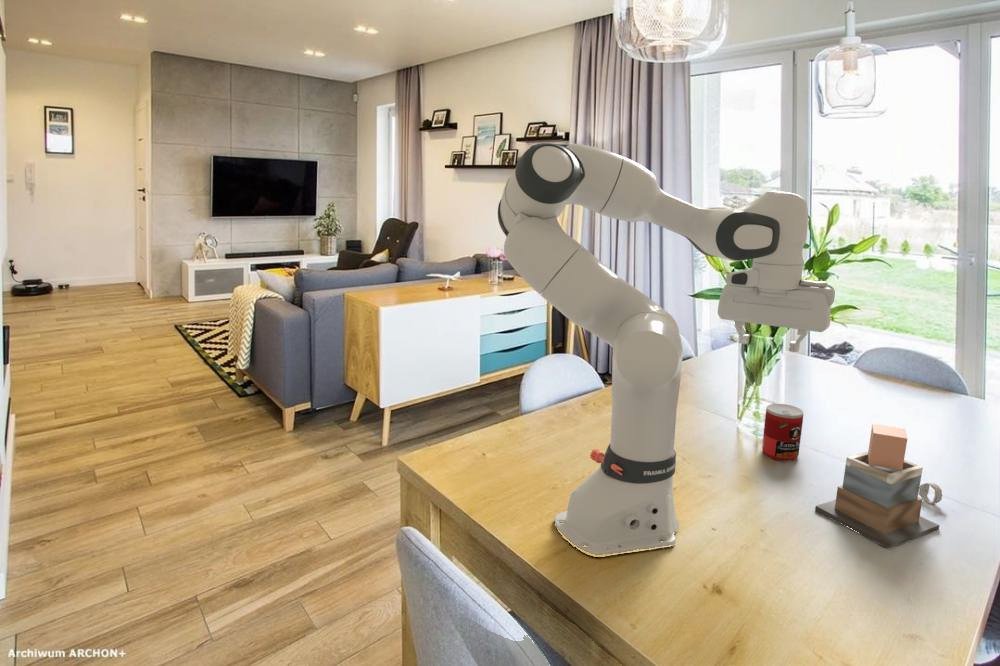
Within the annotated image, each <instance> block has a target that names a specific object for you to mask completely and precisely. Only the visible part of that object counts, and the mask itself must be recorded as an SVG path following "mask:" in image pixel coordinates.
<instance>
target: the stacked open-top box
mask: <svg viewBox="0 0 1000 666" xmlns="http://www.w3.org/2000/svg"><path fill="white" fill-rule="evenodd" d="M845 460H846V461H845V468H844V474H843V482H842V485H839V486H837V487H836V488H837V489H836V490H837V491H836V496H835V497H836V498H835V499H834V500H831V501H828V502H827V501H826V502H823V503H820V504H817V505H815V508H814V510H816V511H815V512H817V513H819V514H821V515H823V516H824V515H825V517H826V516H827V518H828V517H829V518H828V519H830V518H831V519H830V520H832V519H833V520H832V521H834V520H835V521H834V522H836V521H837V522H836V523H838V522H839V523H838V524H840V523H842V524H843V525H845V526H848V527H849V528H852V529H853V530H855V531H857V532H859V533H860V534H859V533H858V534H859V535H861V534H862V535H863V537H864V536H865V537H864V538H866V537H867V538H866V539H868V538H869V540H870V539H871V540H870V541H872V540H873V541H872V542H874V541H875V542H874V543H876V542H877V543H876V544H878V543H879V544H878V545H880V544H881V545H883V546H884V548H885V547H886V548H885V549H887V548H888V550H890V549H893V548H894V547H897V545H898V546H900V545H903V544H906V543H908V542H910V540H911V541H913V540H916V539H918V538H922V537H924V535H925V536H927V535H930V534H932V532H933V533H935V532H937V530H938V531H939V530H940V524H938V523H936V522H934V521H932V520H929V519H927V518H925V517H923V516H921V510H922V504H923V501H924V500H923V499H922V498H921V497H919V490H920V489H919V487H920V485H921V480H922V474H923V469H924V467H923V466H920V465H918V464H917V463H916V464H915V463H913V462H910V461H908V460H905V459H904V463H903V469H902V471H901V470H895V469H890V468H885V467H879V466H874V465H869V461H868V451H866V452H865V451H864V452H861V453H859V454H854V455H850V456H846V458H845ZM842 524H841V525H842ZM843 525H842V526H843ZM845 526H844V527H845ZM849 528H848V529H849ZM853 530H852V531H853ZM855 531H854V532H855ZM934 531H935V532H934ZM857 532H856V533H857ZM929 533H930V534H929ZM926 534H927V535H926ZM862 535H861V536H862ZM921 536H922V537H921ZM907 541H908V542H907ZM905 542H906V543H905ZM902 543H903V544H902ZM881 545H880V546H881ZM883 546H882V547H883ZM889 548H890V549H889Z"/></svg>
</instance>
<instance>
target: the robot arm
mask: <svg viewBox="0 0 1000 666" xmlns="http://www.w3.org/2000/svg"><path fill="white" fill-rule="evenodd" d="M520 156H521V157H520V158H519V159H518V160H517V162H516V165H515V168H514V169H513V171H512V173H511V175H510V177H509V178H508V179H507V181H506V183H505V185H504V188H503V192H502V195H501V199H500V201H499V203H498V206H497V220H498V224H499V227H500V228H501V231H502V232H503V234H504V235H505V241H504V245H503V254H504V256H505V259H506V260H507V262H508V263H509V264H510V266H511V267H512V268H513V269H514V270H515V272H516V273H517V274H518V275H519V276H520V277H521V278H522V279H523V280H524V282H526V284H528V286H529V287H531V288H532V289H533V290H534V291H535V292H536V293H537V294H538V295H540V296H541V297H542V298H543V299H544V300H545V301H547V302H548V303H549V304H550V305H552V307H553V308H555V309H556V310H557V311H558V312H560V313H561V314H562V315H563V316H564V317H566V319H568V320H569V321H570V322H571V323H572V324H574V325H576V326H578V327H580V328H582V329H585V330H586V331H588V332H589V333H591V334H592V335H594V336H596V337H597V338H599V339H600V340H602V341H604V342H605V343H606V344H608V346H610V347H612V357H611V358H612V361H611V362H612V365H611V366H612V367H611V370H612V371H611V417H610V419H611V420H610V421H611V423H610V442H609V444H608V446H607V448H606V451H605V453H603V452H601V451H600V450H599V449H596V448H594V449H593V450H591V452H590V455H589V458H590V459H591V460H592V461H594V462H595V463H597V464H600V467H599V468H598V469H596V470H595V471H594V472H593V473H592V474H591V475H590V476H589V477H588V478H587V479H585V480H584V481H583V482H582V483H581V484H580V485H579V486H578V487H576V488H574V490H573V491H572V492H571V493H570V496H569V499H568V504H567V510H564V511H561V512H559V513H557V514H555V517H554V521H555V524H556V527H557V528H558V530H559V531H560V532H561V533H562V534H563V535H564V536H565V537H566V538H567V539H568V540H569V541H570V542H572V543H573V544H574V545H576V546H577V547H578V548H580V549H582V550H584V551H586V552H589V553H591V554H595V555H603V554H605V555H606V554H613V553H621V552H627V551H633V550H637V549H639V550H640V549H649V548H655V547H662V546H669V545H674V544H675V545H676V536H675V535H674V534H676V533H677V532H676V530H677V528H678V529H679V522H678V518H677V515H676V509H675V501H674V485H673V484H674V482H673V481H674V480H673V478H674V475H675V473H676V467H677V466H676V462H677V461H676V458H677V453H676V450H675V440H676V437H675V436H676V425H677V422H676V421H677V410H678V405H679V404H678V402H679V395H680V387H681V377H682V367H683V365H682V364H683V358H684V357H683V355H684V352H683V343H682V339H681V335H680V329H679V326H678V323H677V322H676V320H675V318H674V317H673V315H671V314H670V313H669V312H668V311H666V310H665V309H664V308H663V307H661V306H660V305H659V304H657V303H656V302H655V301H654V300H652V299H651V298H649V297H648V296H647V295H645V294H644V293H643V292H642V291H640V290H639V289H637V288H636V287H635V286H634V285H631V284H630V283H629V282H627V281H626V280H624V279H623V278H621V277H620V276H619V275H618V274H616V273H615V272H614V271H613V270H612V269H610V268H609V267H608V266H607V265H606V264H604V263H603V262H602V261H601V260H600V259H599V258H598V257H596V256H595V255H594V254H593V253H591V252H590V250H588V249H587V248H586V247H584V246H582V244H581V243H579V242H578V241H577V240H576V239H574V238H573V237H571V236H570V235H569V234H568V233H567V232H566V231H564V229H563V227H562V225H561V224H560V222H559V220H558V218H559V217H560V216H561V214H562V213H563V211H564V209H565V208H566V206H567V205H579V206H581V207H583V208H586V209H587V210H590V211H591V212H592V211H593V212H595V213H596V214H599V215H602V216H605V217H607V218H611V219H615V220H619V221H622V222H623V221H624V222H630V223H638V222H644V223H645V222H647V223H650V224H653V225H657V226H659V227H662V228H663V229H666V230H668V231H671V232H673V233H676V234H678V235H680V236H682V237H684V238H686V239H687V240H688V241H689V242H690V243H691V245H693V247H694V248H695V249H696V250H697V251H698V252H700V253H702V254H703V255H705V256H708V257H711V258H712V257H713V258H714V257H715V258H720V259H723V260H728V261H731V262H742V261H747V260H752V267H750V268H749V267H746V268H742V269H741V270H736V271H733V272H730V273H728V274H727V275H726V277H725V283H726V285H725V286H724V287H723V289H722V290H721V293H720V296H719V299H718V300H719V301H718V307H717V315H718V317H719V318H720V319H721V320H724V321H725V320H726V321H734V327H735V330H736V332H737V333H738V335H739V336H738V343H739V344H742V345H748V344H749V341H750V334H746V331H745V329H744V326H746V323H749V324H754V325H755V324H756V325H763V326H764V325H765V326H770V327H771V326H772V327H777V328H778V327H779V328H785V329H786V328H787V329H793V330H797V336H799V337H798V338H797V339H796V340H791V341H790V342H789V347H788V351H789V352H794V353H798V352H799V350H800V347H801V346H800V345H801V343H802V341H803V340H804V339H805V338H806V337H807V336H808V333H809V332H816V333H817V332H818V333H824V332H825V331H827V329H828V328H830V326H831V325H830V324H831V314H832V313H831V310H832V309H831V306H832V305H833V304H834V301H835V297H836V296H835V295H836V291H835V289H834V287H833V286H831V285H830V284H828V282H826V281H813V280H808V279H807V280H805V279H802V277H803V269H804V257H803V250H804V246H805V245H806V243H807V237H808V236H807V235H808V228H809V227H808V225H809V207H808V203H807V200H806V199H805V198H804V197H803V196H802V195H799V194H796V193H792V192H786V191H779V190H769V191H766V192H764V193H763V194H762V195H761V196H759V197H758V198H756V199H755V200H753V201H751V202H748V203H746V204H744V205H741V206H738V207H736V208H735V209H734V208H727V207H720V206H713V207H712V206H711V207H699V206H697V205H694V204H691V203H689V202H687V201H684V200H682V199H681V198H678V197H676V196H673V195H670V194H668V193H667V192H665V191H664V190H662V189H661V187H660V186H659V184H658V181H657V177H656V176H655V174H654V173H653V172H652V171H650V169H648V168H646V167H645V166H643V165H642V164H640V163H638V162H636V161H634V160H632V159H630V158H628V157H626V156H622V155H620V154H618V153H615V152H613V151H610V150H606V149H603V148H601V147H600V148H599V147H595V146H591V145H587V144H581V143H571V144H568V145H566V146H563V145H560V144H557V143H553V142H541V143H540V142H539V143H537V144H533V145H532V146H530V147H529V148H527V150H525V151H524V153H523V154H522V155H520ZM808 331H809V332H808ZM559 523H563V524H559ZM555 524H554V525H555ZM677 531H678V530H677ZM675 532H676V533H675ZM661 541H663V542H661ZM584 545H586V546H588V547H583V546H584Z"/></svg>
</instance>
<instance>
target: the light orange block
mask: <svg viewBox="0 0 1000 666" xmlns="http://www.w3.org/2000/svg"><path fill="white" fill-rule="evenodd" d="M907 443H908V435H907V432H906V429H905V428H901V427H895V426H888V425H884V424H883V425H881V424H877V423H876V424H875V423H872V424H871V432H870V438H869V444H868V445H869V446H868V451H867V452H868V461H869V465H874V466H879V467H885V468H890V469H895V470H901V471H902V469H903V463H904V460H905V457H906V451H907V450H906V449H907Z"/></svg>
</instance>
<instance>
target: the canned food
mask: <svg viewBox="0 0 1000 666" xmlns="http://www.w3.org/2000/svg"><path fill="white" fill-rule="evenodd" d="M764 417H765V418H764V427H763V434H762V435H763V437H762V446H761V448H762V453H763V454H764V455H765V456H766V457H768V458H770V459H771V460H772V459H773V460H775V461H776V460H777V461H781V462H793V461H796V460H797V459H798V456H799V455H800V445H801V440H802V439H801V437H802V430H803V429H802V428H803V422H804V410H802V409H801V408H799V407H797V406H793V405H790V404H785V403H771V404H768V405H767V406H766V409H765V416H764Z"/></svg>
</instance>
